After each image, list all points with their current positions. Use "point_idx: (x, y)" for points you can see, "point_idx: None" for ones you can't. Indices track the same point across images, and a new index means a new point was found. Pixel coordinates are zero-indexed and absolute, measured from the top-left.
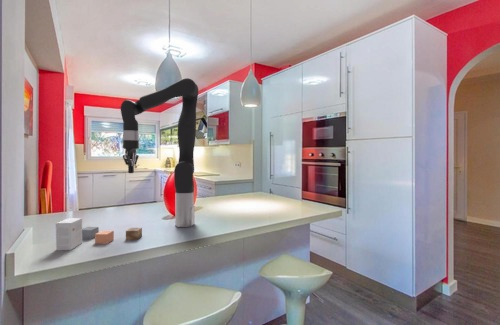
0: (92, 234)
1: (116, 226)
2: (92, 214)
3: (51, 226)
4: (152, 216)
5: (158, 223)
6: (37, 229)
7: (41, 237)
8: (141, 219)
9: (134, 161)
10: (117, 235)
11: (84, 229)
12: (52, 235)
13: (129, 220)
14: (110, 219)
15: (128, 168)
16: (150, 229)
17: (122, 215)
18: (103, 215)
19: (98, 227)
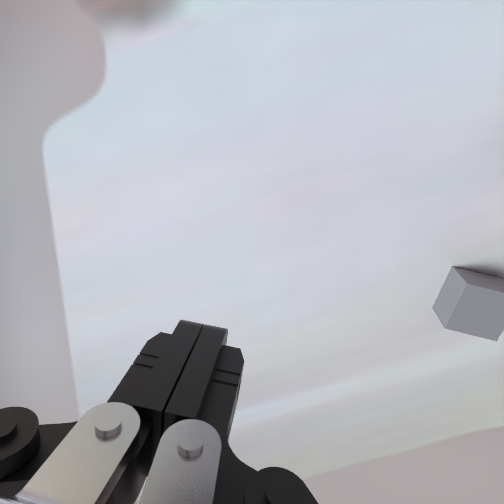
0: (499, 283)
1: (305, 238)
2: (87, 393)
3: (272, 455)
4: (101, 107)
5: (269, 18)
6: (307, 477)
7: (418, 436)
8: (172, 154)
9: (38, 502)
10: (478, 184)
11: (495, 326)
12: (400, 416)
13: (192, 211)
14: (172, 302)
15: (227, 436)
16: (403, 33)
17: (93, 273)
18: (101, 350)
19: (467, 282)
